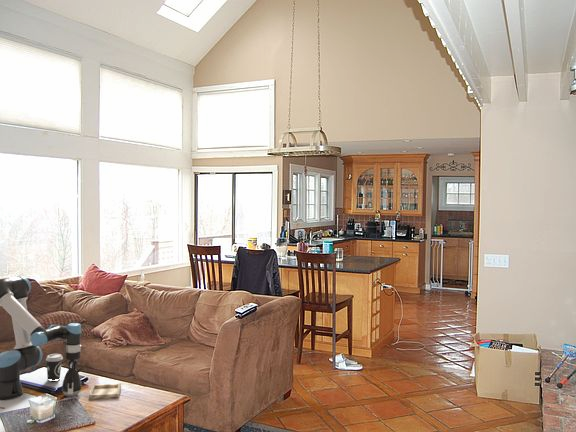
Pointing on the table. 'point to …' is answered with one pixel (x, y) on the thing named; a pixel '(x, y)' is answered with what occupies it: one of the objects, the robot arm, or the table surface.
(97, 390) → the beige flat square tray
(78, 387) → the pump dispenser
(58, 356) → the coffee cup
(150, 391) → the table surface
